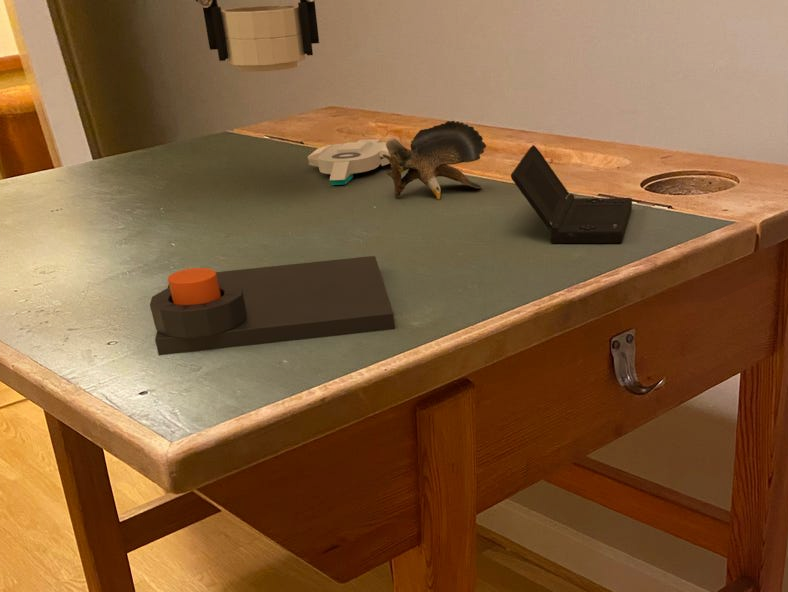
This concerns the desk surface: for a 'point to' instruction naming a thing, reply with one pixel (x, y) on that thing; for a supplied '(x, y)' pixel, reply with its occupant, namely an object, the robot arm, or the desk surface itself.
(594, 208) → the handheld gaming console
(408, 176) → the triceratops head
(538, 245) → the desk surface
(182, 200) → the desk surface
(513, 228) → the desk surface
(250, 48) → the bowl
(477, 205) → the desk surface
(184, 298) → the button
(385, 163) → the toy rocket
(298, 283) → the scale
